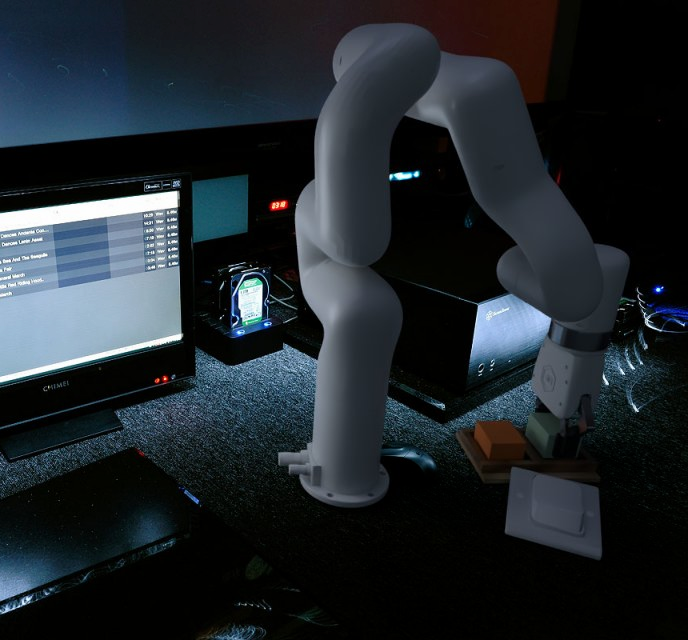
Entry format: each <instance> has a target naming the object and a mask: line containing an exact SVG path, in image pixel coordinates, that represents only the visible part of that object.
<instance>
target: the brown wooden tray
mask: <svg viewBox="0 0 688 640" xmlns="http://www.w3.org/2000/svg"><path fill="white" fill-rule="evenodd" d="M515 429H516V430H517V431H518V432H519V434H520V435H521V436H522V438H523V439H524V440H525V442H526V443H527V444H526V448H525V453H524V458H523V460H497V461H487V459H486V458H485V456H484V455H483V453H482V452H481V450H480V448H479V447H478V445H477V444H476V442H475V441H474V433H475V427H474V428H473V427H466V428H465V427H461V428H460V429H459V431H456V432H455V437H456V439H457V441H458V443H459V444H460V446H461V447H462V449H463V452H464V453H465V455H466V456H467V457H468V459H469V461H470V463H471V464H472V466H473V467H474V469H475V471H476V473H477V474H478V476H479V477H480V479H481V481H482V482H483V484H510V475H511V469H512V467H517V468H521V469H525V470H529V471H533V472H537V473H542V474H546V475H550V476H554V477H558V478H562V479H566V480H570V481H574V482H578V483H582V484H584V483H600V482H601V476H600V475H599V474H598V473H597V469H598V467H599V463H598V461H596V459H594V457H593V456H592V454H590V453H589V452H588V451H587V449H586V448H585V447H584V446H583V445H582V444H581V446H580V450H579V453H578V457H577V458H543V457H542V456H541V454H540V453H539V452H538V451H537V449H536V448H535V447H534V446H533V444H532V443H531V442H530V440H529V439H528V438H527V437H526V435H525V433H526V429H527V427H515Z"/></svg>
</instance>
